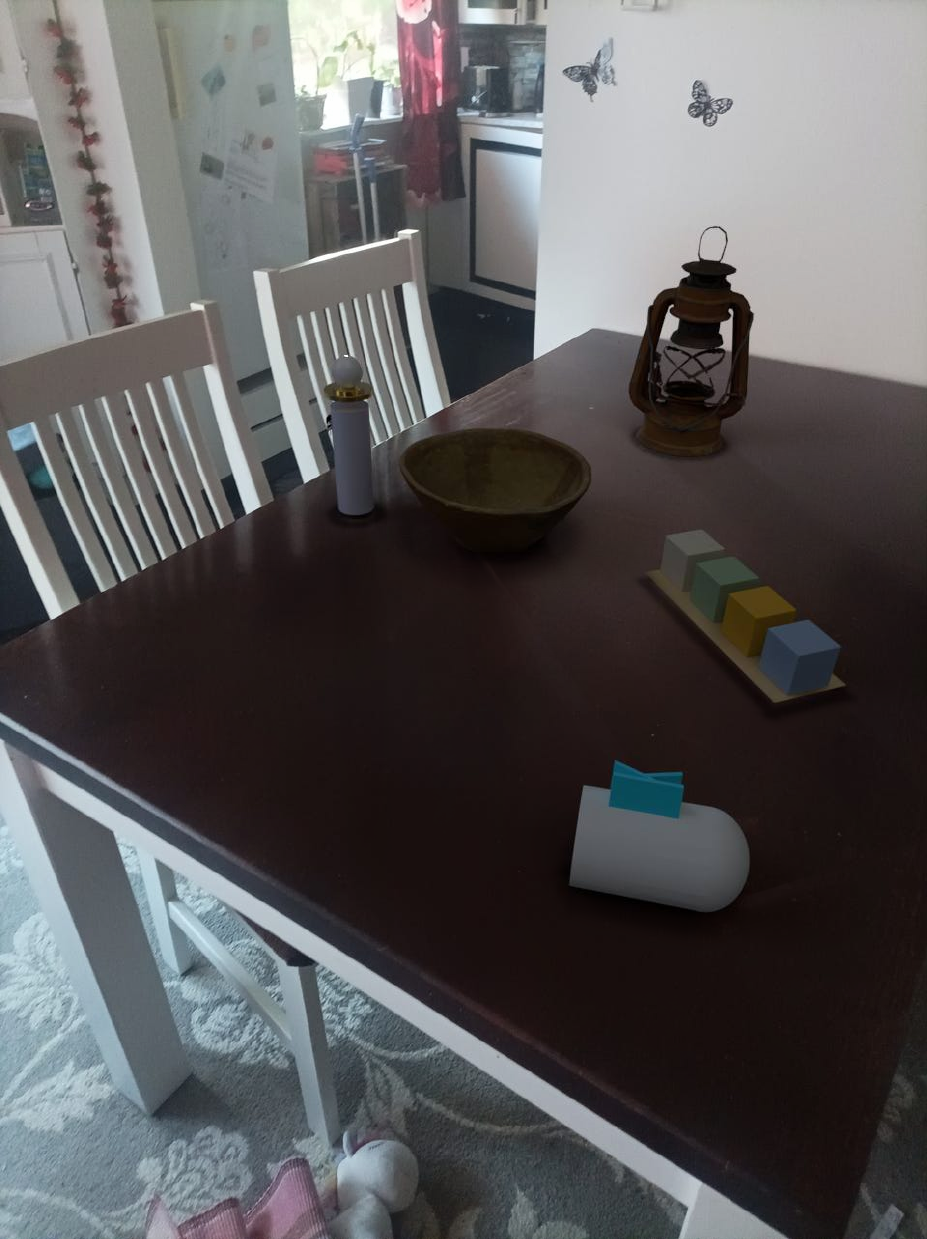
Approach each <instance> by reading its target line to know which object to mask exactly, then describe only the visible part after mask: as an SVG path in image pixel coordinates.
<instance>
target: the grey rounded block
mask: <svg viewBox="0 0 927 1239" xmlns="http://www.w3.org/2000/svg"><path fill="white" fill-rule="evenodd" d="M682 781H683V771H675V772H673V771H672V772H651V773H648V772H647V773H646V772H645V773H644V772H642V771H641V770H640V771H639V770H638V769H635V768H633V767H632V766H629V765H627V764H625V763H623V762H620V761H618V760H616V759H615V760H614V765H613V772H612V778H611V783H610V789H609V788H603V787H598V786H591V785H585V784H583V786H582V787H583V788H582V793H581V798H580V804H579V811H578V817H577V824H576V830H575V838H574V844H573V851H572V858H571V864H570V875H569V882H568V886H569V887H574V888H579V889H584V890H588V891H595V892H599V893H605V894H609V895H614V896H620V897H624V898H631V899H635V900H640V901H646V902H650V903H656V904H660V905H665V906H671V907H675V908H681V909H687V910H692V911H696V912H698V913H699V912H701V913H710V912H711V913H712V912H713V913H714V912H717V911H719V910H723V909H724V908H725V907H728V906H729V905H731V904H732V903H733V902H735V900H736V899H737V897H738V896H739V895H740V894H741V893H742V891H743V889H744V888H745V885H746V882H747V879H748V876H749V872H750V865H751V862H750V861H751V860H750V858H751V857H750V849H749V844H748V841H747V839H746V836H745V834H744V833H745V832H744V831H743V830H742V828H741V827H740V825H739V824H738V823H737V821H736V820H735V819H734V818H733V817H732V816H730V815H729V814H728V813H727V812H725V811H723V810H721V809H719V808H716V807H713V806H708V805H701V804H695V803H689V802H686V801H685V802H684V801H683V795H684V791H685V787H684V784H682Z"/></svg>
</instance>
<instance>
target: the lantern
mask: <svg viewBox="0 0 927 1239" xmlns="http://www.w3.org/2000/svg"><path fill="white" fill-rule="evenodd" d="M710 229H719V230H720V231H722V232H723V233H724V234H725V235H724V236H725V245H724V249H723V251H722V253H721V257H720V258H719V259H718V260H717V259H715V260H714V259H704V258H703V257H702V256H701V253H700V252H701V244H702V239H703V236H704V235H705V232H707V231H709V230H710ZM728 238H729V237H728V233H727V230H725V229H724V228H722V227H721V226H720V225H719V226H718V225H714V226H708V227H707V228H705V229H704V230H703V232H702V234H701V236H700V237H699V245H698V250H697V251H698V252H697V256H698V260H692V261H689V262H685V263H683V264H682V265H681V268H682V270H683V271H684V272H686V273H687V274H689V275H688V276H684V277H682V278H680V279H679V284H678V286H676V287H668V288H664V289H663V290H662V291H660V292H659V293H657V295H656V296H655V298H654V299H653V302H652V304H650V305H649V306H648V307H647V312H646V314H647V315H646V325H645V330H644V332H643V336H642V340H641V342H640V345H639V348H638V353H637V356H636V359H635V364H634V368H633V371H632V374H631V378H630V380H629V384H628V395H629V400H630V401H631V403H632V405H633V406H634V407H635V408H636V409H638V410H639V411H640V412H641V413H643V421H642V425H641V426H640V427H639V428H638V429H637V430H636V433H635V437H636V440H637V441H638V443H639V444H640V445H642V446H644V447H645V448H647V449H649V450H652V451H653V452H655V453H661V454H664V455H668V456H669V455H670V456H677V457H687V458H689V457H700V456H701V457H702V456H709V455H710V454H711V455H712V454H715V453H717V452H719V451H720V450H721V449H722V448H723V446H724V441H723V437H722V435H721V428H722V423H723V420H726V419H728V418H731V417H733V416H735V415H736V414H737V413H739V412H740V411H741V410H742V408H743V406H746V399H747V396H748V382H749V379H748V378H749V360H750V359H749V358H750V335H751V329H752V327H753V323H754V319H755V313H754V312H753V311H751V305H750V303H749V300H748V299H747V298H746V296H745V294H743V293H740V292H737V291H733V290H732V283H731V282H730V281H728V280H727V277H728V276H731V275H734V274H737V270H738V269H737V268H736V267H735V266H733V265H731V264H729V263H726V262H722V260H723V259H724V256H725V252H726V250H727V246H728V242H729V239H728ZM730 310H732V314H731V312H730ZM668 312H669V314H670V315H671V316H672V317H674V318H677V319H678V325H677V328H676V330H674V331H673V332H672V333H671V335H670V337H669V341H670V342H671V343H672V344H673V345H676V346H678V347H682V348H686V349H687V348H688V349H694V350H701V351H698V352H697V353H695V354H691V353H690V352H687V351H686V350H683V349H680V348H678V347H676V346H671V345H666V346H664V348H663V349H662V352H663V354H661V353H660V352H658V351H657V348H658V345H659V342H660V338H661V335H662V330H663V327H664V323H665V321H666V316H667V314H668ZM731 318H732V324H731V325H732V326H731V327H732V328H731V357H730V359H731V361H730V370H729V374H728V379H727V383H726V388H725V390H724V394H722V396H721V397H720V398H719V400H718V401H717V402H716V403H715V402H706V401H707V400H709V399H711V398H713V397H715V395H716V390H715V388H714V387H715V384H714V383H713V380H712V378H711V377H708V380H709V384H710V385H707V384H705V383H703V382H702V381H701V380H700V379H697V377H699V376H701V374H703V373H705V374H706V375H707V374H708V375H707V376H709V371H711V370H712V369H713V368H715V367H717V366H718V365H720V364H722V362H723V361H724V359H725V357H726V353H727V351H726V350H725V349H724V348H723V347H722V346H723V345H724V337H723V334H721V333H720V331H721V323H724V322H728V321H729V320H730V319H731ZM666 351H673V352H679V353H680V354H682V355H685V356H686V357H687V359H686V360H685V361H684V362H682V363H681V364H680V365H679V366H677V363H675V362H674V360H673V359H672V358H671V357H670V356H669V355H668V353H667V352H666ZM706 354H712V355H716V354H717V355H720V354H722V355H721V357H720V358H719V360H717V361H716V362H714V363H712V364H708V365H706V366H705V365H704V364H703V362H702V361H701V360H699V359H698V357H700V356H702V355H706ZM663 355H664V356H665V358H666V359H667V360H668V361H669V362H670V363H671V364H672V365H673V366H674V367H675V368H676V369H674V370H673V372H672V373H671V374H670V375H669V377H668V378H667V379H666V382H665V383H664V382H663V378H662V377H663V375H662V370H661V366H662V365H661V364H662V362H661V361H662V357H663ZM691 360H694V361H695V362H696V364H698V365H699V367H700V368H701V369H699V370H697V371H696V372H695V373H693V374H690V373H688V372H687V371H686V370H685V369H684V368H683V367H684V366H685V365H686V364H688V362H690V361H691ZM655 363H656V366H655ZM678 370H679V372H681V373H682V374H683V375H684V376H685V378H687V379H688V380H687V379H686V380H671V381H670V379H671V378H672V377H673V376H674V374H676V372H677V371H678ZM691 379H693V380H694V381H692V380H691ZM690 380H691V381H690ZM658 384H659V385H658ZM662 391H663V392H664V393H665V394H666V395H667V396H666V395H664V394H662V393H663V392H662ZM726 397H728V398H727V400H726ZM659 400H660V401H659ZM661 400H662V401H661Z"/></svg>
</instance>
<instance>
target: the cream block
mask: <svg viewBox="0 0 927 1239" xmlns="http://www.w3.org/2000/svg"><path fill="white" fill-rule="evenodd" d="M725 551H726V548H725V547H724V546H723V545H721V544H720V543H719V542H718V541H716V540H715V539H714V538H713V537H712V536H710V534H708V533H707V532H705V530H703V529H697V530H690V531H685V532H679V533H673V534H668V535H665V538H664V545H663V552H662V557H661V563H660V571H661V572H662V573H663V574H664V575H665V576H666V577H667V578H668V579H669V580H670V581H671V582H672V583H673V584H674V585H675V586H676V587H677V588H678V589H679V590H680V591H681V592H683V591H688V590H691V589H692V584H693V578H694V573H695V568H696V563H700V562H706V561H711V560H716V559H722V558H724V555H725Z"/></svg>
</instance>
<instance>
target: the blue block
mask: <svg viewBox="0 0 927 1239" xmlns="http://www.w3.org/2000/svg"><path fill="white" fill-rule="evenodd" d="M841 648H842V646H841V645H840V644H839V643H837V642H836V641H835V640H834V639H833V638H831V636H829V635H828V634H827V633H825V632H824V631H823V630H822V629H821V628H820V627H818V626H817V625H816V624H815V623H813V621H811V620H810V619H805V620H800V621H794V622H793V623H791V624H786V625H781V626H777V627H772V628H768V631H767V635H766V639H765V643H764V646H763V650H762V654H761V658H760V662H759V666H758V667H759V668H760V669H761V670H762V671H763V672H764V673H765V674H766V675H767V676H768V677H769V678H770V679H771V680H772V681H773V682H774V683H775V684H776V685H777V686H778V687H779V688H780V689H781V690H782V691H783V692H784V693H785V694H786V695H787V696H789V695H793V694H797V693H801V692H805V691H809V690H813V689H818V688H822V687H826V686H828V685H829V682H830V679H831V676H832V673H833V674H834V670H835V666H836V664H837V661H838V658H839V654H840V651H841Z"/></svg>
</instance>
